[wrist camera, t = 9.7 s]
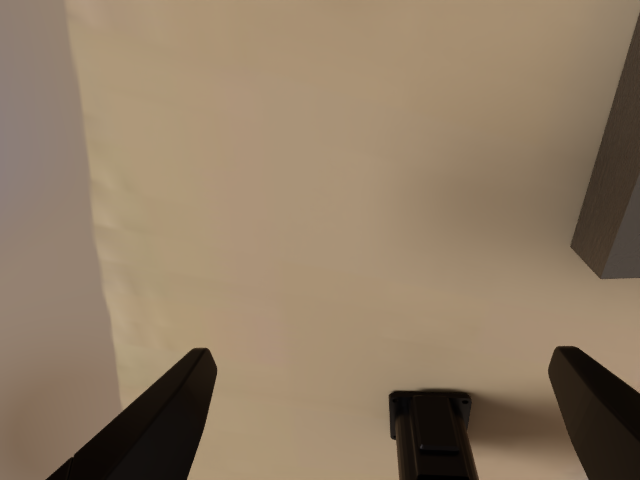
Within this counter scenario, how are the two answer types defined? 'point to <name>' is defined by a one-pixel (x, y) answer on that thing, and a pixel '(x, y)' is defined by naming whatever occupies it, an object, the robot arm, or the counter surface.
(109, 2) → the counter surface
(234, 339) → the counter surface
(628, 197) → the rail
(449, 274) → the counter surface
